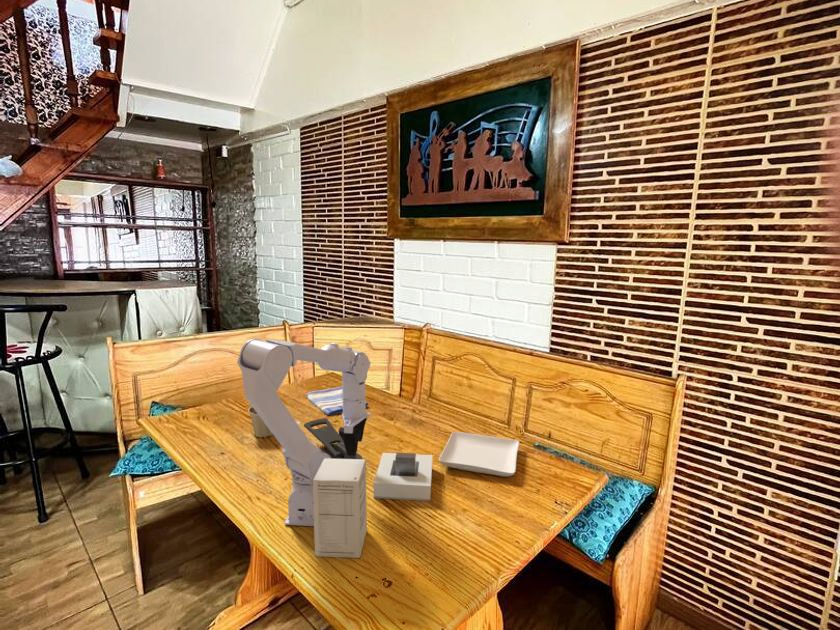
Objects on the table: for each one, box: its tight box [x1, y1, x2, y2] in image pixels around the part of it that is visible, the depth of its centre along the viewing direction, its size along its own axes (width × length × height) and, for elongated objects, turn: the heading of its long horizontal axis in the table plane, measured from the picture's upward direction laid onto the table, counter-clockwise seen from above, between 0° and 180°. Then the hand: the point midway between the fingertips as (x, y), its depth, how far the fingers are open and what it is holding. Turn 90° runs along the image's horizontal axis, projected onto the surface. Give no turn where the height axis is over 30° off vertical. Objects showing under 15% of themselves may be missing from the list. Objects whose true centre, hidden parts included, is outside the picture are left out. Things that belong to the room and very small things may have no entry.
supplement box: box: [313, 458, 368, 559], centre depth 93 cm, size 10×9×17 cm
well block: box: [373, 452, 433, 502], centre depth 118 cm, size 16×14×4 cm
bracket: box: [395, 452, 417, 477], centre depth 118 cm, size 6×5×8 cm
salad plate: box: [438, 431, 520, 477], centre depth 132 cm, size 21×21×3 cm
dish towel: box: [305, 386, 369, 416], centre depth 175 cm, size 17×24×3 cm
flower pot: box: [247, 406, 274, 438], centre depth 145 cm, size 9×9×9 cm
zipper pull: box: [303, 418, 363, 459], centre depth 132 cm, size 9×7×25 cm
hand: (354, 447), depth 115 cm, fingers open, 7 cm apart
